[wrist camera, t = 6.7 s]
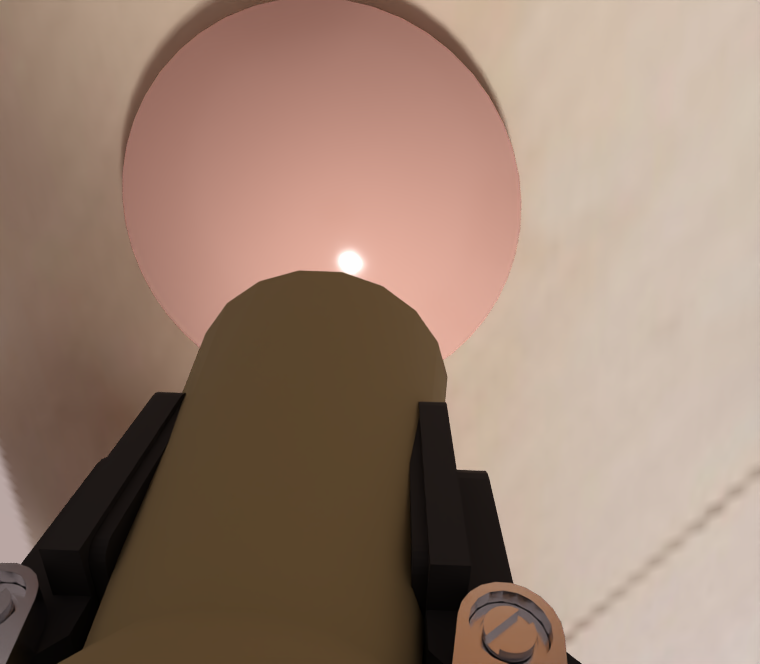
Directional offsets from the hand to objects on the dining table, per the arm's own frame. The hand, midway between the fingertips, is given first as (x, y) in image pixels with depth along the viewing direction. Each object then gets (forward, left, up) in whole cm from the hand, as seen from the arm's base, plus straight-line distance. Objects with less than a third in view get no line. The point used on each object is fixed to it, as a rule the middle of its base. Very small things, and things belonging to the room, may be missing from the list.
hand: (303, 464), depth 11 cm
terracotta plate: (-1, +2, -17) cm, 17 cm away
